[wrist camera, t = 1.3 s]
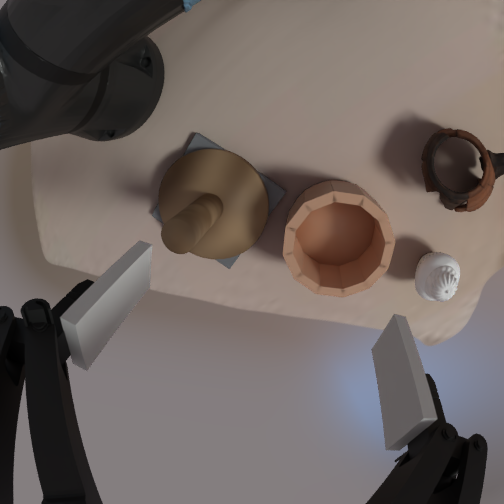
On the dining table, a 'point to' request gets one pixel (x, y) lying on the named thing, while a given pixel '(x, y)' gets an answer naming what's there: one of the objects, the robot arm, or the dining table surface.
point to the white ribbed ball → (437, 276)
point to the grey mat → (272, 189)
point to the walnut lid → (212, 204)
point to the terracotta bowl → (337, 239)
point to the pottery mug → (492, 170)
